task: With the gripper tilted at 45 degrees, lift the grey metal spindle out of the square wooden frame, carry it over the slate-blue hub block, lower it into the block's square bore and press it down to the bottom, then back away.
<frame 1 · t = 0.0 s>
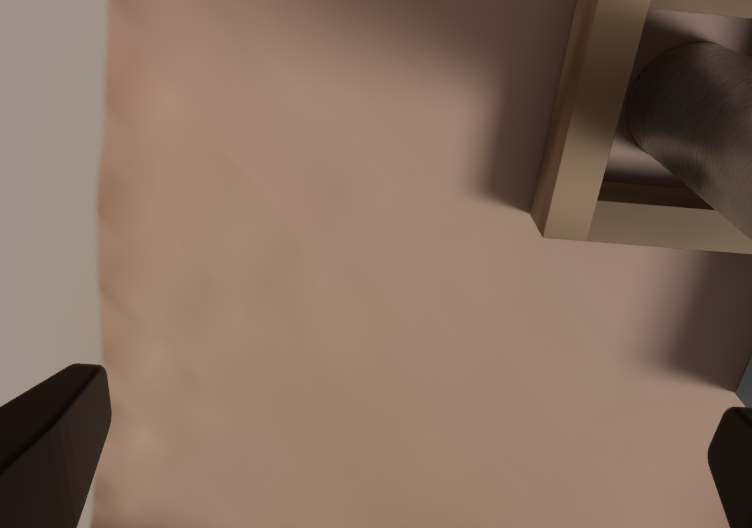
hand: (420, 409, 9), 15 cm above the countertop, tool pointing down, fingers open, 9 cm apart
square wooden frame: (686, 103, 22), on the countertop
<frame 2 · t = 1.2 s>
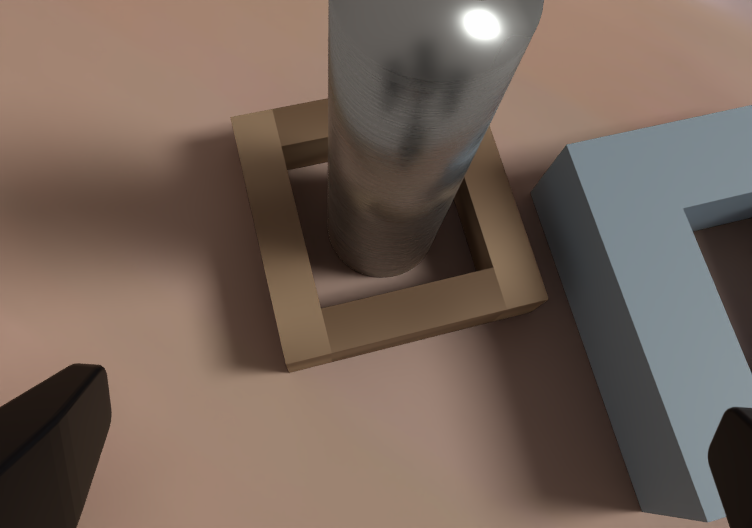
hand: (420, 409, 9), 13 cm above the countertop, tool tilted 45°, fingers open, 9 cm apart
grey metal spindle: (399, 145, 18), in the square wooden frame
slate-blue hub block: (729, 303, 25), on the countertop
square wooden frame: (381, 225, 24), on the countertop
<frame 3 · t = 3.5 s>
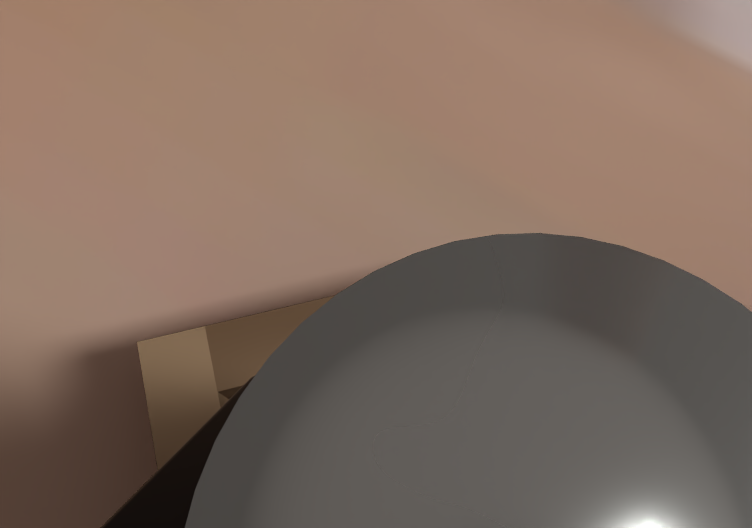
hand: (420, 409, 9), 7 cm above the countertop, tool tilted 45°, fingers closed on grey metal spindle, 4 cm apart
grey metal spindle: (410, 509, 10), in the square wooden frame, touching gripper
square wooden frame: (377, 491, 16), on the countertop
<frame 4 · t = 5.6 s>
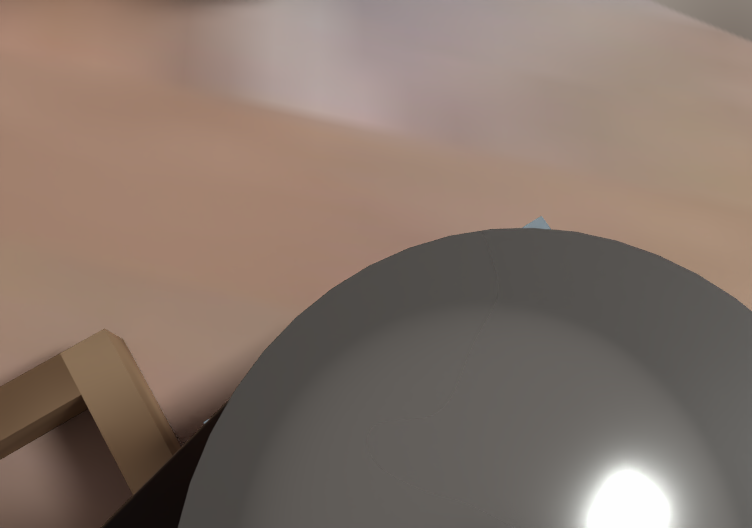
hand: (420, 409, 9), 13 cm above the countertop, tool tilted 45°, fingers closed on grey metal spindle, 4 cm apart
grey metal spindle: (408, 506, 10), point 13 cm above the countertop, touching gripper
when the fingers open (7 cm above the countertop, at t = 7.9 s): grey metal spindle stays where it is, resting in slate-blue hub block.
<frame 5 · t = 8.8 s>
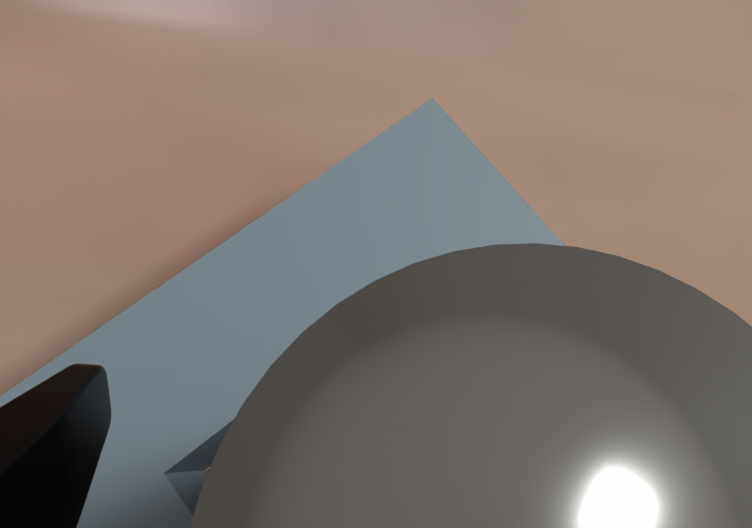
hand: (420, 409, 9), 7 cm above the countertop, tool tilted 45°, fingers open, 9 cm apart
grey metal spindle: (410, 511, 10), in the slate-blue hub block
slate-blue hub block: (377, 490, 16), on the countertop
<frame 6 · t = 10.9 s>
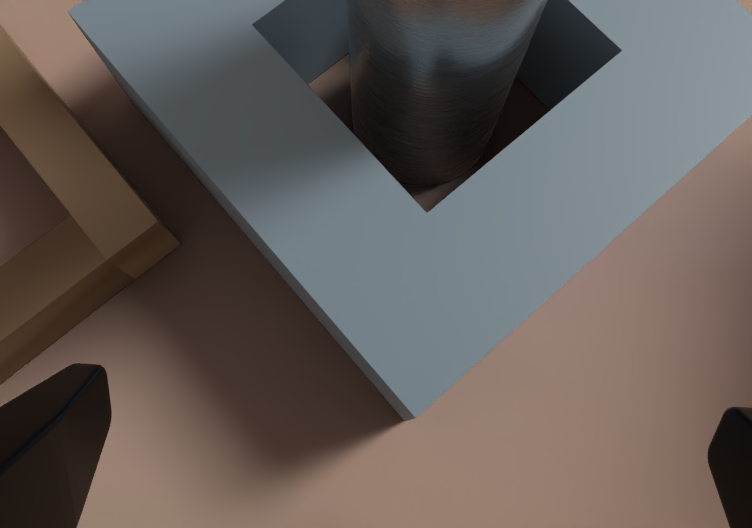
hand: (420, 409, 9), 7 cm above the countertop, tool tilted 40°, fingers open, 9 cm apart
slate-blue hub block: (422, 118, 19), on the countertop
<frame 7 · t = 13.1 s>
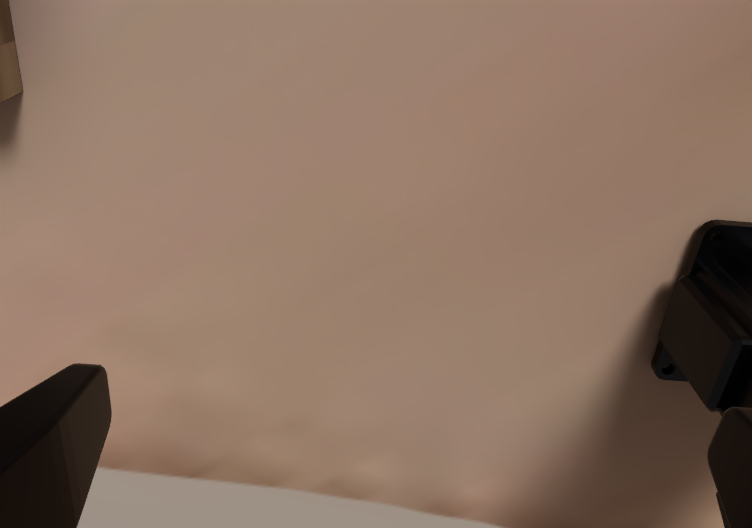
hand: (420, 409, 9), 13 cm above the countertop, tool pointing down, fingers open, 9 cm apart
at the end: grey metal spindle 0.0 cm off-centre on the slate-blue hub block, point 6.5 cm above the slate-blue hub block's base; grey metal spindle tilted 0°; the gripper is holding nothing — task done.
